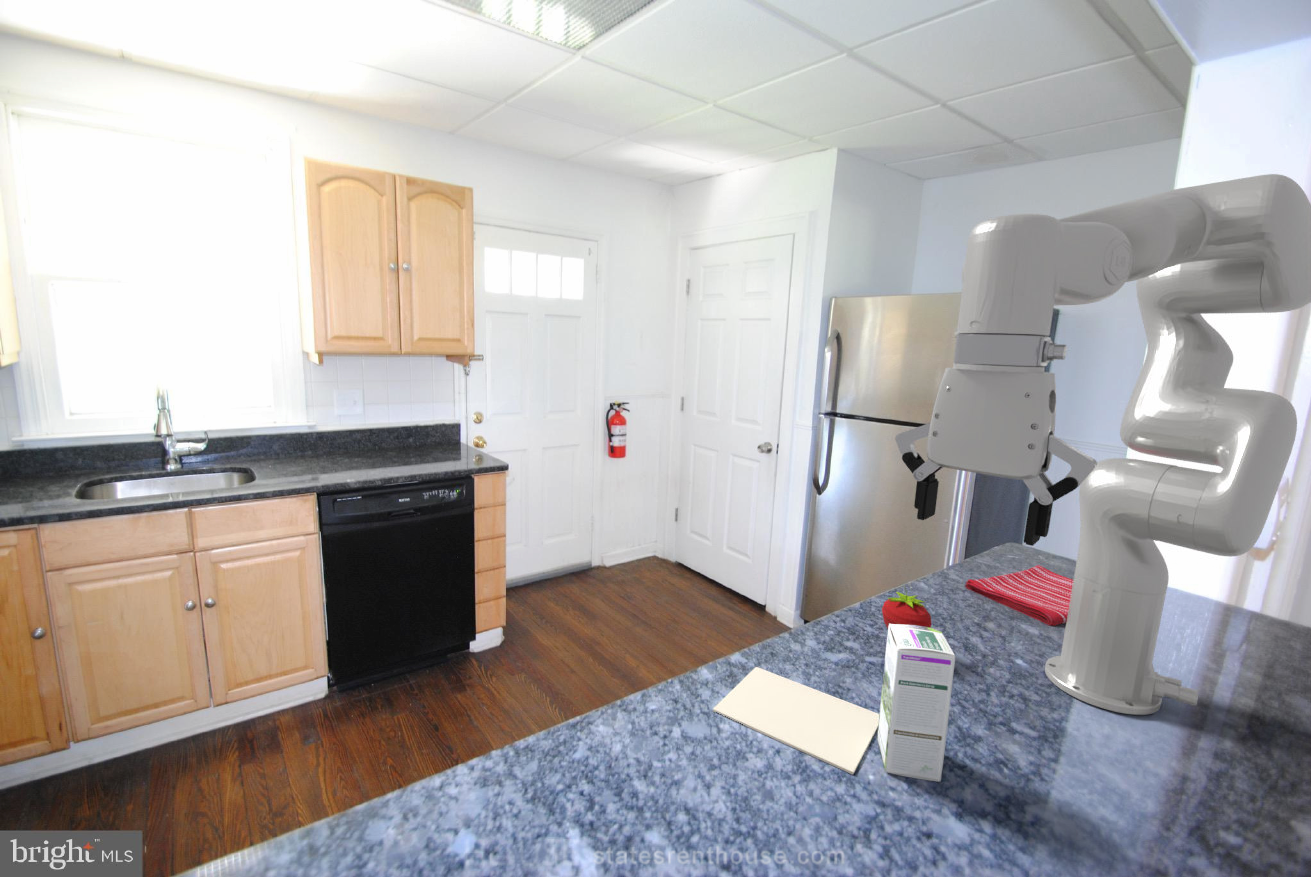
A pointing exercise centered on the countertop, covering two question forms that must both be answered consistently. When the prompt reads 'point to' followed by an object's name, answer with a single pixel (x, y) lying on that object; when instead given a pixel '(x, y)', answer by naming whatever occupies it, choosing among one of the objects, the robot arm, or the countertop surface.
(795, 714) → the cream mat
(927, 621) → the strawberry
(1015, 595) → the dish towel
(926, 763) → the syrup box
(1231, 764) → the countertop surface
